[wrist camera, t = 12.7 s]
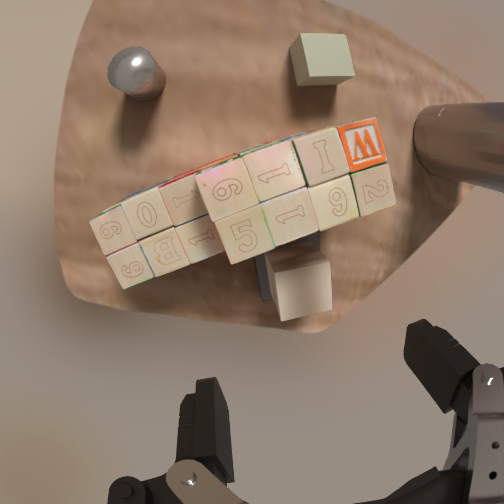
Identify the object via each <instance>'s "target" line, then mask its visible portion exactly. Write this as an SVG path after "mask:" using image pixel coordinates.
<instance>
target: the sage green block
mask: <svg viewBox="0 0 504 504" xmlns="http://www.w3.org/2000/svg"><path fill="white" fill-rule="evenodd" d="M289 50H290V55H291V60H292V64H293V69H294V74H295V79H296V84H297V86H312V85H338V84H340V83H342V82H344V81H346V80H348V79H350V78H352V77H354V76H355V73H354V69H353V64H352V60H351V55H350V51H349V47H348V43H347V39H346V35H344V34H322V33H300V34H299V36H298V37H297V38H296V40H295V41H294V42H293V43H292V45H291V46H290V47H289Z"/></svg>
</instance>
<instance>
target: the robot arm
mask: <svg viewBox="0 0 504 504" xmlns="http://www.w3.org/2000/svg"><path fill="white" fill-rule="evenodd" d="M414 143H415V148H416V152H417V155H418V157H419V159H420V161H421V163H422V164H423V166H424V167H425V168H426V169H427V170H428V171H429V172H430V173H432V174H434V175H436V176H441V177H445V178H449V179H454V180H457V181H461V182H465V183H469V184H473V185H477V186H481V187H484V188H488V189H492V190H495V191H499V192H502V193H504V102H486V103H462V104H446V105H435V106H429V107H427V108H425V109H424V110H423V111H422V112H421V113H420V114H419V116H418V118H417V120H416V124H415V129H414ZM404 359H405V361H406V363H407V365H408V366H409V368H410V369H411V370H412V371H413V373H414V374H415V375H416V377H417V378H418V379H419V380H420V382H421V383H422V385H423V386H424V387H425V388H426V390H427V391H428V392H429V394H430V395H431V397H432V398H433V399H434V401H435V402H436V403H437V405H438V406H439V408H440V409H441V410H442V412H443V413H444V414H445V413H447V412H449V411H451V410H452V409H453V410H454V411H455V414H454V419H453V429H452V437H451V444H450V450H449V454H448V457H447V460H446V462H445V465H444V468H443V470H442V471H438V470H437V468H436V467H433V468H432V469H430V470H428V471H426V472H424V473H423V474H421V475H419V476H417V477H415V478H413V479H411V480H410V481H408V482H407V483H406V484H404V485H403V486H402V487H400V488H399V489H398V490H396V491H395V492H393V493H392V494H391V495H389V496H388V497H387V498H384V499H380V500H375V501H368V502H362V503H355V504H504V367H503V368H498V367H497V366H495V365H493V364H488V363H486V364H480V363H479V362H478V361H477V360H476V359H475V358H474V357H473V356H472V355H471V354H470V353H469V352H468V351H467V350H466V349H465V348H464V347H463V346H462V345H460V344H459V342H458V341H457V340H456V339H454V338H453V336H451V335H450V334H449V333H448V332H447V331H446V330H444V329H442V328H440V327H438V326H435V327H433V326H432V325H431V324H430V323H429V322H428V321H427V320H425V319H421V320H419V321H417V322H414V323H411V324H409V325H408V327H407V332H406V339H405V346H404ZM179 416H180V418H179V427H178V439H177V451H176V461H175V463H174V465H172V466H171V467H170V469H169V470H168V472H167V473H165V474H164V475H162V476H159V477H156V478H152V479H149V480H145V481H139V480H138V479H136V478H134V477H129V476H126V477H121V478H118V479H117V480H115V481H114V482H113V483H112V485H111V486H110V488H109V494H108V503H107V504H248V503H247V502H245V501H243V500H241V499H240V498H239V497H238V496H236V494H234V493H233V492H232V491H231V490H230V489H229V488H227V483H231V482H235V481H234V470H233V459H232V447H231V435H230V422H229V411H228V407H227V403H226V400H225V398H224V395H223V393H222V390H221V388H220V385H219V383H218V380H217V378H216V377H212V378H206V379H200V380H197V381H196V393H193V394H187V395H186V396H185V398H184V399H183V401H182V403H181V405H180V414H179Z"/></svg>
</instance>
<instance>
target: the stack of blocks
mask: <svg viewBox="0 0 504 504" xmlns="http://www.w3.org/2000/svg"><path fill="white" fill-rule="evenodd" d="M386 161H387V157H386V152H385V148H384V145H383V141H382V137H381V133H380V130H379V127H378V123H377V120H376V118H369V119H364V120H359V121H352V122H346V123H341V124H338V125H334V126H330V127H322V128H318V129H314V130H310V131H306V132H303V133H297V134H294V135H289V136H286V137H283V138H279V139H276V140H273V141H269V142H266V143H263V144H260V145H256V146H253V147H250V148H247V149H244V150H241V151H238V152H235V153H234V154H233V155H230V156H227V157H225V158H222V159H219V160H216V161H214V162H211V163H208V164H206V165H204V166H202V167H199V168H197V169H194V170H191V171H189V172H187V173H184V174H181V175H179V176H177V177H176V176H173V177H170V178H168V179H166V180H163V181H161V182H158V183H156V184H154V185H151V186H149V187H147V188H146V189H144V190H142V191H139V192H137V193H135V194H133V195H131V196H128V197H126V198H124V199H123V200H121V201H119V202H117V203H116V204H113V205H112V206H110V207H108V208H107V209H105V210H104V211H103V213H101V214H100V215H98V216H96V217H95V218H93V219H92V220H90V221H89V222H90V225H91V227H92V229H93V232H94V234H95V236H96V238H97V240H98V242H99V245H100V247H101V249H102V251H103V253H104V255H105V256H106V257H107V260H108V262H109V264H110V266H111V268H112V270H113V272H114V273H115V275H116V277H117V279H118V281H119V283H120V285H121V287H122V288H123V289H127V288H129V287H132V286H134V285H137V284H139V283H142V282H145V281H147V280H149V279H152V278H153V277H159V276H162V275H164V274H167V273H169V272H172V271H175V270H177V269H180V268H182V267H185V266H188V265H190V264H193V263H196V262H199V261H202V260H204V259H207V258H209V257H212V256H214V255H217V254H219V253H222V252H224V251H225V252H226V254H227V257H228V259H229V262H230V264H231V265H233V264H236V263H238V262H241V261H243V260H246V259H249V258H251V257H254V256H256V255H259V254H262V253H265V252H267V251H270V250H272V249H274V248H275V247H277V246H280V245H283V244H286V243H288V242H291V241H294V240H296V239H299V238H301V237H304V236H307V235H309V234H312V233H314V232H317V231H324V230H326V229H329V228H332V227H335V226H337V225H340V224H343V223H345V222H348V221H351V220H353V219H356V218H358V217H359V216H360V217H361V216H366V215H369V214H372V213H374V212H377V211H380V210H383V209H386V208H388V207H391V206H393V205H395V204H396V200H395V195H394V190H393V184H392V179H391V174H390V168H389V164H387V163H386Z"/></svg>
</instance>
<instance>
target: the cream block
mask: <svg viewBox="0 0 504 504" xmlns="http://www.w3.org/2000/svg"><path fill="white" fill-rule="evenodd" d="M264 254H265V260H266V267H267V273H268V279H269V286H270V292H271V295H272V297H273V300H274V303H275V306H276V308H277V311H278V314H279V317H280V320H281V321H286V320H290V319H295V318H299V317H304V316H308V315H312V314H316V313H320V312H324V311H328V310H332V290H331V270H330V261H329V260H328V259H327V258H326V257H325V256H324V255H323V254H322V253H321V252H320V251H319V250H318V249H317V247H316V246H315V245H314V244H313V243H312V242H311V241H307V242H301V243H296V244H291V245H286V246H281V247H276V248H274V249H272V250H270V251H267V252H265V253H264Z"/></svg>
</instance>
